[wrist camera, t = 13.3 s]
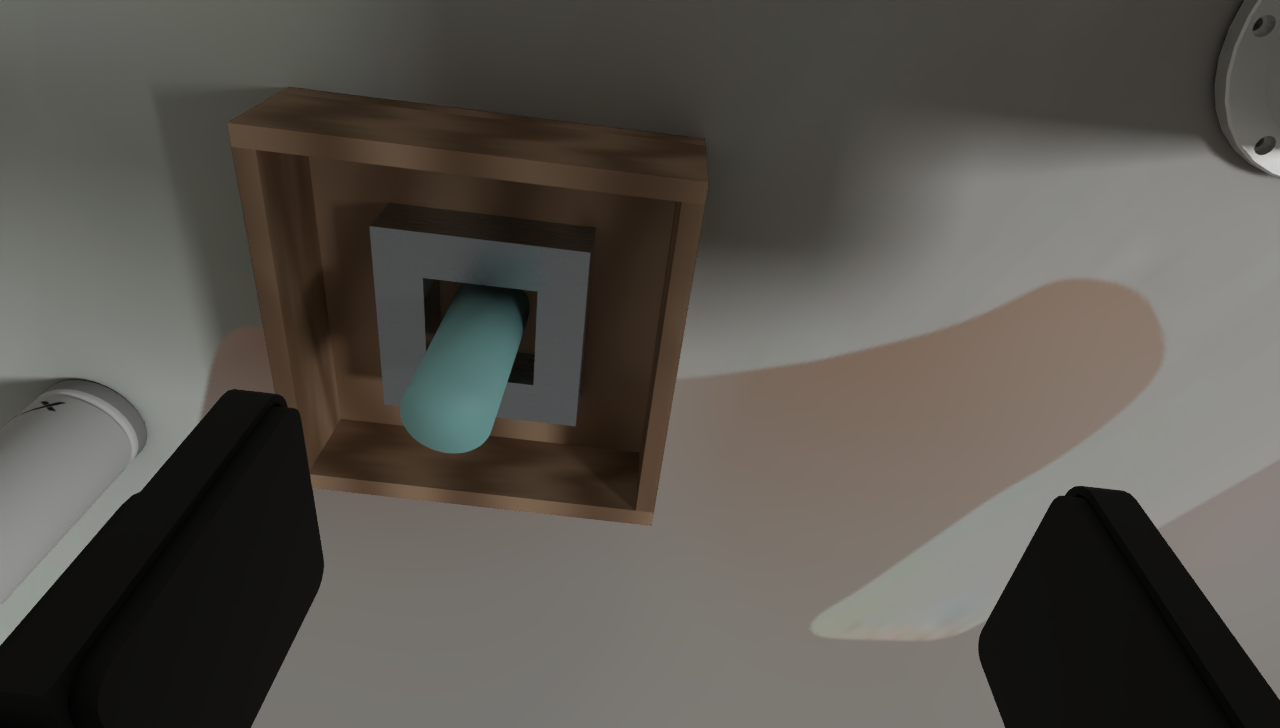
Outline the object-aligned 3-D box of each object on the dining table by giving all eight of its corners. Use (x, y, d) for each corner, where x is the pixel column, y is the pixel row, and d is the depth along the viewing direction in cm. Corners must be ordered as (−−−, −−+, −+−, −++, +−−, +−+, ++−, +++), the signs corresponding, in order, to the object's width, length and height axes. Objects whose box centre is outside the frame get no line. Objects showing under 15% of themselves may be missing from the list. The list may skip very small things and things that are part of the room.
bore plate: (596, 227, 39) (590, 252, 37) (581, 394, 45) (575, 426, 42) (389, 202, 39) (369, 226, 36) (400, 373, 45) (384, 404, 42)
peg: (531, 277, 41) (493, 384, 32) (528, 341, 43) (492, 458, 35) (454, 268, 41) (397, 373, 32) (456, 333, 43) (402, 447, 34)
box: (704, 139, 38) (709, 182, 32) (654, 456, 48) (651, 525, 43) (288, 87, 37) (227, 122, 32) (332, 419, 48) (291, 485, 43)
